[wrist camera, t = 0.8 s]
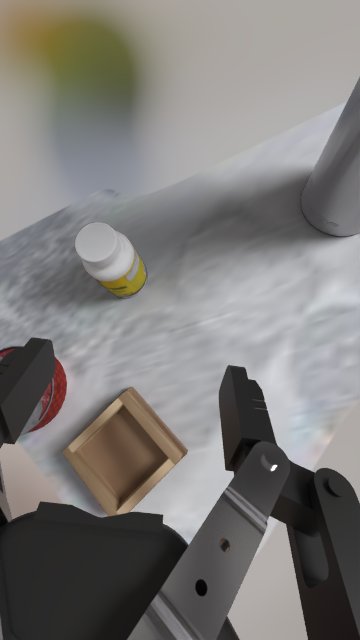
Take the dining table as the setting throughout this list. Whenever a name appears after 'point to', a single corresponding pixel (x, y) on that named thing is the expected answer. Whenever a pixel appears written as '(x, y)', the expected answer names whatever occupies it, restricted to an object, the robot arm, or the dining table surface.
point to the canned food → (45, 397)
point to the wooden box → (124, 453)
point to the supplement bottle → (111, 259)
